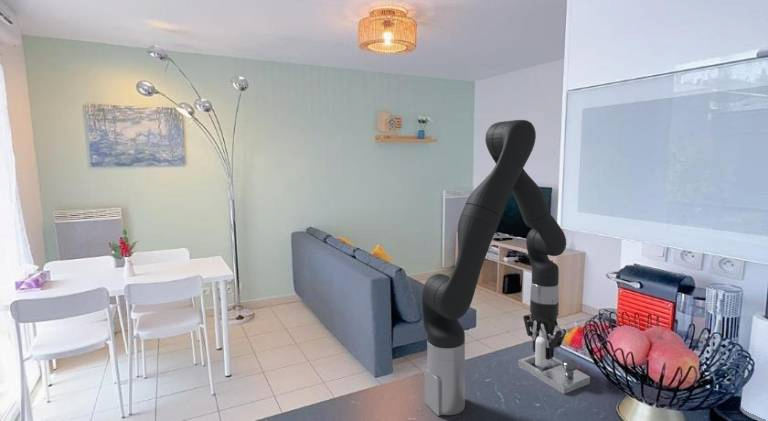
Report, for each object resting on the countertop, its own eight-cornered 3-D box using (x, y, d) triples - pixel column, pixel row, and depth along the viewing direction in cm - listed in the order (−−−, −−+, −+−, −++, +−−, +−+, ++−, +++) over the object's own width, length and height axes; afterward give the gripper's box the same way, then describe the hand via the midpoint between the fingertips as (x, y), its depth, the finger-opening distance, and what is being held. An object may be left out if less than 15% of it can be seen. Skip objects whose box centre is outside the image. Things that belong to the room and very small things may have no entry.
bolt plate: (563, 394, 105) (564, 371, 104) (518, 366, 119) (518, 346, 119) (589, 383, 110) (590, 362, 109) (543, 357, 124) (543, 338, 123)
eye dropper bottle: (556, 365, 116) (557, 325, 114) (539, 369, 115) (539, 328, 113) (546, 358, 120) (547, 320, 119) (530, 361, 119) (530, 322, 117)
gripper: (516, 293, 119) (515, 348, 122) (555, 309, 107) (553, 370, 109) (534, 288, 123) (533, 342, 125) (575, 303, 110) (573, 363, 112)
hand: (543, 355), depth 117 cm, fingers closed on eye dropper bottle, 3 cm apart
